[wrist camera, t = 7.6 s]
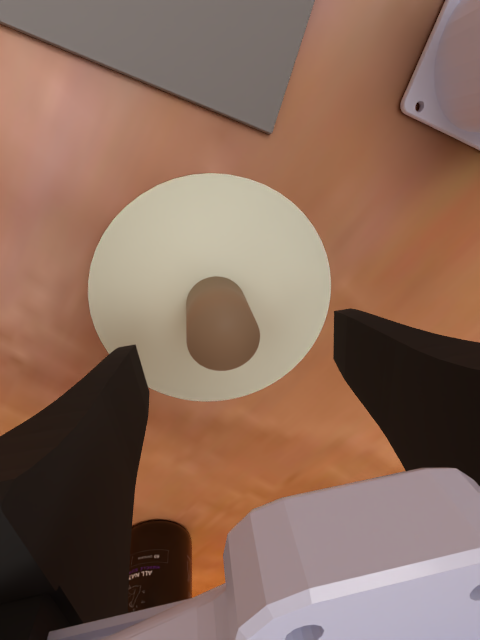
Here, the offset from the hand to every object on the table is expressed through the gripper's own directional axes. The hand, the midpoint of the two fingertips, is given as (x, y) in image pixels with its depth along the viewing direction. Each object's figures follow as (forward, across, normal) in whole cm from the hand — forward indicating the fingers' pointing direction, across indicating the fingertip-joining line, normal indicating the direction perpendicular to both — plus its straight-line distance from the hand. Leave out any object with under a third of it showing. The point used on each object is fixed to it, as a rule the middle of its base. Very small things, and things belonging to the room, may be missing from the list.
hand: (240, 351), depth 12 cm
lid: (+7, 0, +1) cm, 7 cm away
